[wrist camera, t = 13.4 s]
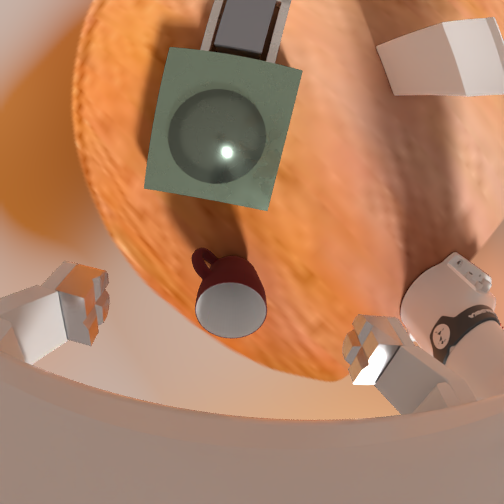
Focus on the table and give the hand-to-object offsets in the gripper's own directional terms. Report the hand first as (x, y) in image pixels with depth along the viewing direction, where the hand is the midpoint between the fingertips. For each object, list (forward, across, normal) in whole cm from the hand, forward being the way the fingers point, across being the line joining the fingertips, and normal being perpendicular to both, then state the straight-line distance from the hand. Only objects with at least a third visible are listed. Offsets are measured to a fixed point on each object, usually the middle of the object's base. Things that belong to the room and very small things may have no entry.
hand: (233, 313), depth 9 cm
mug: (+29, -1, +14) cm, 32 cm away
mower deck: (+29, +3, -9) cm, 31 cm away
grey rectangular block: (+29, +3, -16) cm, 34 cm away
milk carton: (+29, -18, -19) cm, 39 cm away
